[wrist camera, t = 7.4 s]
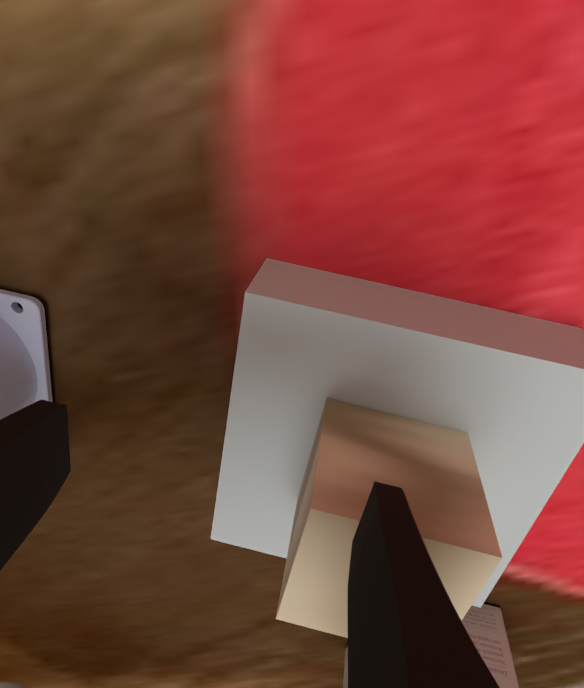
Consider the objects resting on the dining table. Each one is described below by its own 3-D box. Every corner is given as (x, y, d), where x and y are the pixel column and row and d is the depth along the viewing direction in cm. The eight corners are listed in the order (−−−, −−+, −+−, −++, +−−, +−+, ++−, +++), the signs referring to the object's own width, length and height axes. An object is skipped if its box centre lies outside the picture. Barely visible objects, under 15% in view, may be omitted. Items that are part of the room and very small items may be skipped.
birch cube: (297, 497, 19) (275, 618, 15) (326, 397, 17) (310, 508, 12) (420, 529, 19) (434, 661, 15) (468, 433, 17) (502, 557, 12)
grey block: (233, 475, 25) (210, 539, 21) (269, 254, 19) (245, 292, 15) (465, 532, 24) (480, 607, 21) (576, 322, 18) (624, 378, 15)
